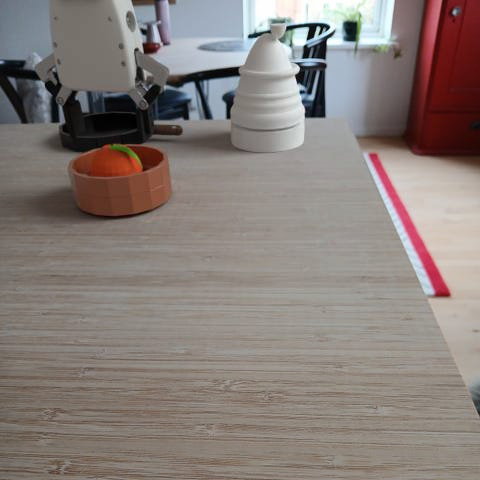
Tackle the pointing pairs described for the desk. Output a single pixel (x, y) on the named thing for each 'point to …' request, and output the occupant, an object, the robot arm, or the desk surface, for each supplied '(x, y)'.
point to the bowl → (122, 184)
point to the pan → (110, 131)
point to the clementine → (115, 162)
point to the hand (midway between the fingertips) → (111, 136)
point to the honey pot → (268, 99)
